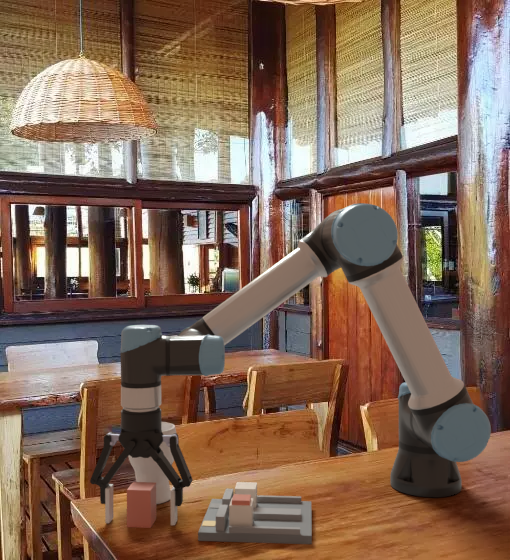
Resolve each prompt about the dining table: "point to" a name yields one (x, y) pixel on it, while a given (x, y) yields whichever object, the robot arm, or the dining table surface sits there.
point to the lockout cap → (141, 504)
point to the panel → (260, 521)
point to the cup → (155, 468)
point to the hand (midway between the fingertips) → (141, 521)
